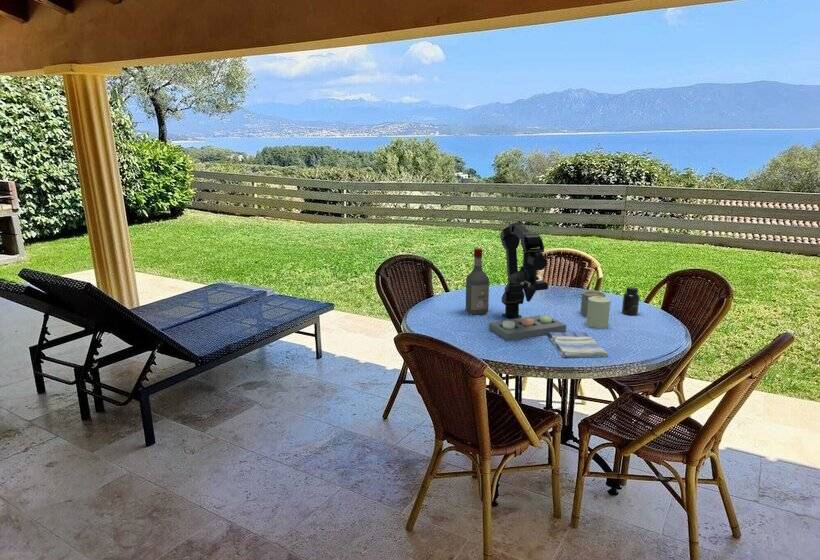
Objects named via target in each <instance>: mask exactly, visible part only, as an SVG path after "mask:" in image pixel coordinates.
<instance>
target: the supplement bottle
mask: <svg viewBox="0 0 820 560" xmlns="http://www.w3.org/2000/svg"><path fill="white" fill-rule="evenodd" d="M638 292H639V287H635V286H627V287H626V289H625V293H624V294H623V295H622V296H623V297H622V306H621V313H622V314H623V313H624V314H623V315H626V314H627V315H626V316H637V315H638V313H639V305H640V295H639V294H638Z"/></svg>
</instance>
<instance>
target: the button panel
mask: <svg viewBox="0 0 820 560" xmlns="http://www.w3.org/2000/svg"><path fill="white" fill-rule="evenodd" d="M542 315H543V314H541V315H533V316H532V315H531V316H526V317H524V318H531V319H533V320H534V324H533V326H529V327H524V326H522V325H521V319H522V318H523V317H518V318H511V319H505V320H504V319H503V320H498V321H490V322H488V330H489V329H490V330H489V331H491V332H492V331H493V333H494V334H495V333H496V334H495V335H497V336H498V335H499V336H498V337H500V338H502V339H503V340H505V341H506V342H510V341H517V340H522V339H530V338H536V337H542V336H548V332H556V333H557V332H560V333H561V332H567V324H566V323H563V322H561V321H560V320H557V319H555V318H553V317H552V323H549V324H542V323H540V316H542ZM507 320H508V321H514V322H515V329H509V330H505V329H504V328H502V326H503V321H507Z"/></svg>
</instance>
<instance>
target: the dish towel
mask: <svg viewBox="0 0 820 560" xmlns="http://www.w3.org/2000/svg"><path fill="white" fill-rule="evenodd" d="M547 336H548V338H549V340H550V341H551V344H553V345H554V347H555V349H556V350H557V351H558V352H559V353H560V355H561V356H562V358H568V357H574V358H607V357H606V356H608V357H609V353H608V351H606V350H605V349H604V348H603V347H602V346H601V345H600V344H599V343H597V341H596V340H595V339H594V338H592V336H590V335H589V333H587V332H582V331H566V332H561V333H560V332H557V333H556V332H548V335H547ZM601 356H603V357H601Z"/></svg>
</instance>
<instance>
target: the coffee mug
mask: <svg viewBox="0 0 820 560" xmlns="http://www.w3.org/2000/svg"><path fill="white" fill-rule="evenodd" d="M592 296H601V297H606V293H605V292H603V291H600V290H591V289H590V290H584V291H582V292H581V303H580V315H581V314H582V315H581V316H583V317H586V318H587V311H588V298H589V297H592Z"/></svg>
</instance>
